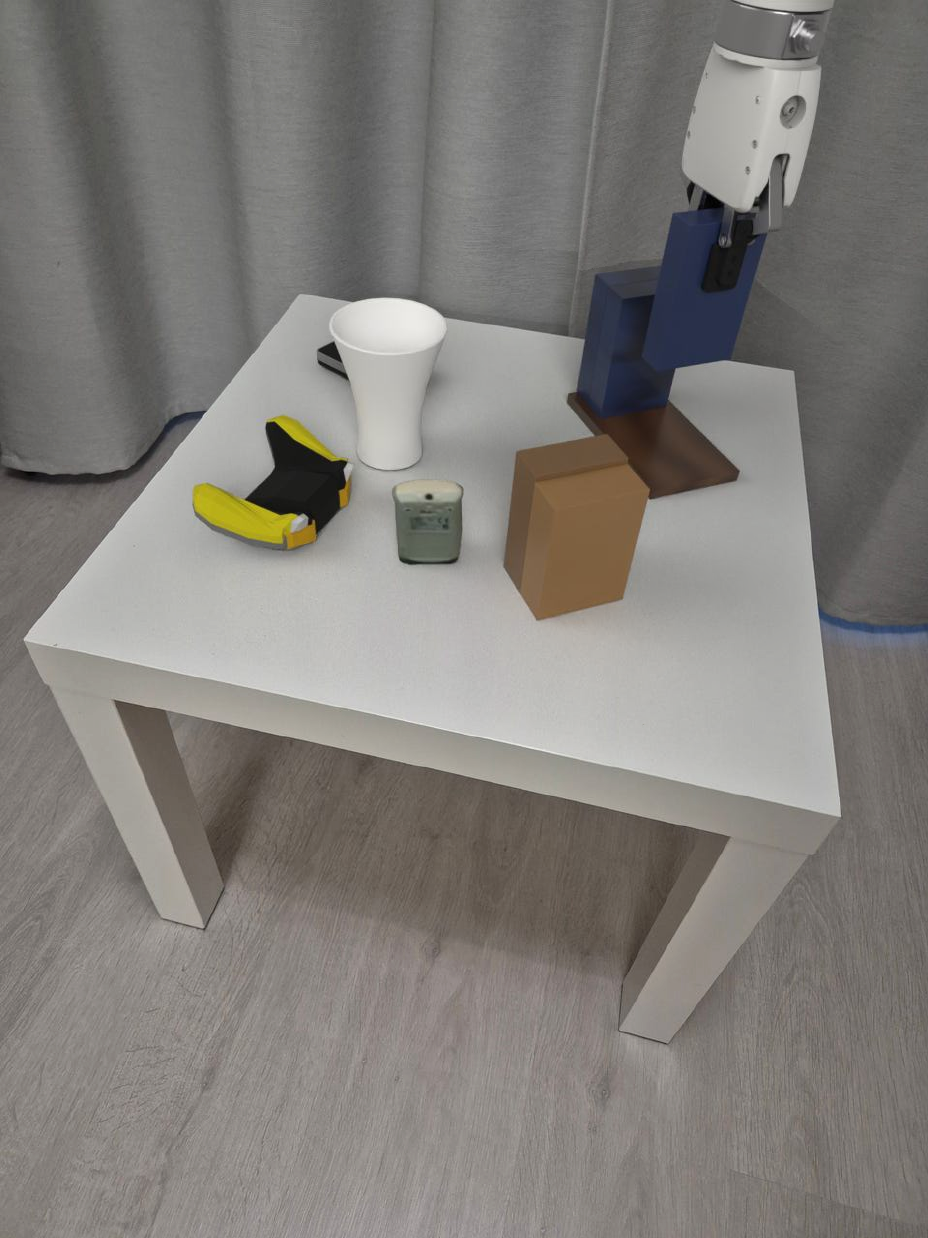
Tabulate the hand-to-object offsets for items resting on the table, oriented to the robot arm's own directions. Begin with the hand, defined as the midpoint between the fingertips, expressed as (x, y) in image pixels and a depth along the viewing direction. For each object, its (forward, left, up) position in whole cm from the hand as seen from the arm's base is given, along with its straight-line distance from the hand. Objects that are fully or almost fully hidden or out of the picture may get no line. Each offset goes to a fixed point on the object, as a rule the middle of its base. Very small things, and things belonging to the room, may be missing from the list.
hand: (706, 278), depth 76 cm
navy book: (0, 0, -8) cm, 8 cm away
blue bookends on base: (0, -3, -18) cm, 19 cm away
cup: (+26, -9, -19) cm, 33 cm away
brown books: (+18, +14, -18) cm, 29 cm away
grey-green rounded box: (+28, +7, -19) cm, 35 cm away
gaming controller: (+38, -3, -19) cm, 43 cm away
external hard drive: (+23, -24, -19) cm, 38 cm away
